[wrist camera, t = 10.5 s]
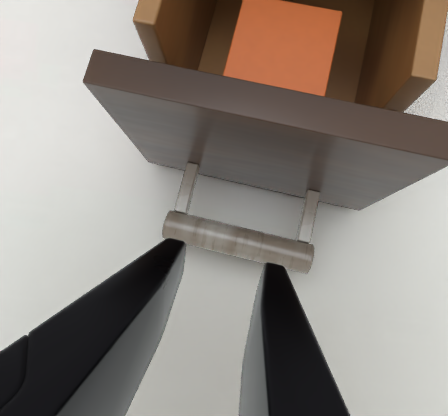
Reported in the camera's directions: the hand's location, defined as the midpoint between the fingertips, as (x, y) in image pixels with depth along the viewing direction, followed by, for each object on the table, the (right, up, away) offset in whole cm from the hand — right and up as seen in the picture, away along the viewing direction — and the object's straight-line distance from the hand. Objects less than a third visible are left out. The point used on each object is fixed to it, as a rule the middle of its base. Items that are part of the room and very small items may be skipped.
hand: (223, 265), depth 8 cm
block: (+3, +7, +11) cm, 13 cm away
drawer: (+3, +7, +12) cm, 14 cm away
